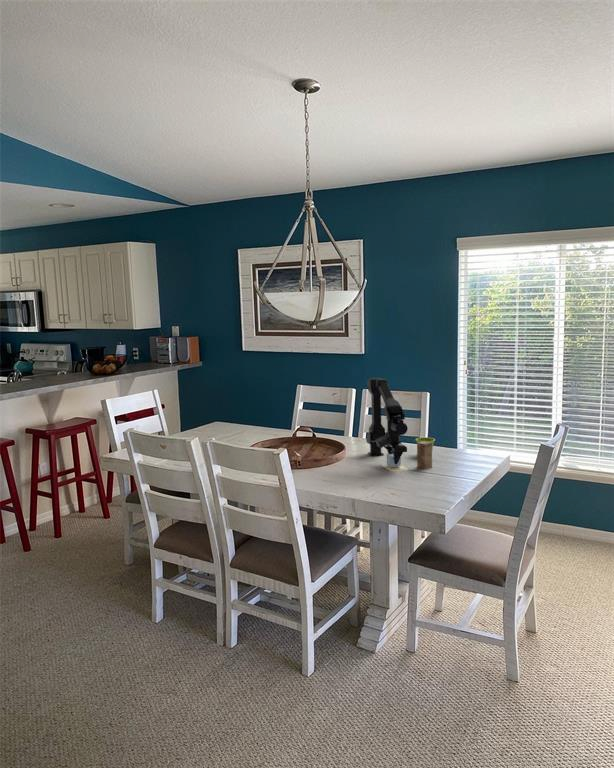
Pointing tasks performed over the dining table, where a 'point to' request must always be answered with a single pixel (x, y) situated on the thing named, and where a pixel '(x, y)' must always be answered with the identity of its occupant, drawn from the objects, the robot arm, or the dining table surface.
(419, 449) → the wooden cuboid post
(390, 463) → the slate cube
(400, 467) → the letter
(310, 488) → the dining table surface
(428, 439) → the plant pot
